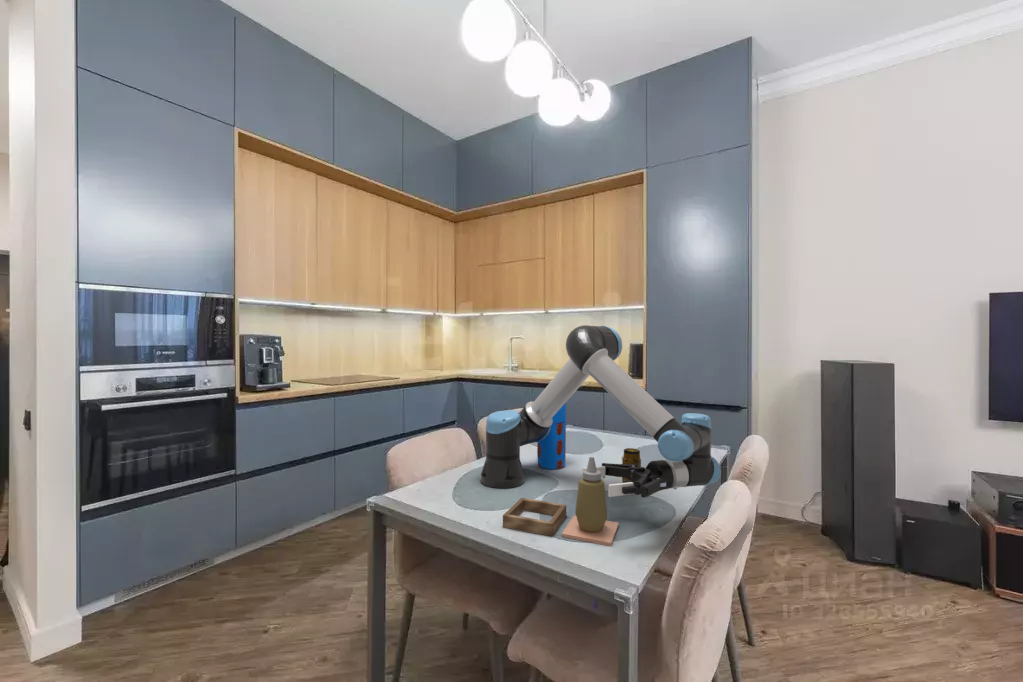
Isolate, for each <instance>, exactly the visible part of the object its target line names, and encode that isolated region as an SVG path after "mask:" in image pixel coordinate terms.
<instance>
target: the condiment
mask: <svg viewBox="0 0 1023 682" xmlns="http://www.w3.org/2000/svg"><path fill="white" fill-rule="evenodd" d="M640 453H641V450H640V449H637V448H634V447H633V448H632V447H626V448H624V449H623V456H622V458H621V460H622V461H621V464H637V465H638V467H642V459H641V454H640ZM631 477H632V474H631ZM621 481H622V482H621V483H628V482H633V483H634V486H635V481H631V480H628V478H623V477H621Z"/></svg>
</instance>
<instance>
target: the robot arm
mask: <svg viewBox="0 0 1023 682" xmlns="http://www.w3.org/2000/svg"><path fill="white" fill-rule="evenodd" d="M565 349H566V354H567V355H568V357H569V359H568V360H567V361H566V362H565V364H564V365H563V366H562V367H561V369H560V370H559V371H558V372H557V373H556V374H555V376H554V377H553V378H552V380H551V381H550V382H549V383H548V385H547V386H546V387H545V388H544V389H543V390H542V392H540V394H539V395H537V397H536V399H534V401H528V402H526V404H525V405H524V407H523V408H522V409H521V410H520V411H518V410H514V409H513V410H511V409H510V410H509V409H507V410H497V411H495V412H492V413H490V414H489V415H488V416H487V417H486V421H485V422H486V424H485V460H484V464H483V466H482V470H481V473H480V483H481V482H482V483H483V484H482V483H481V484H482V485H484V486H486V487H489V488H495V489H496V488H497V489H511V488H517V487H520V486H522V485H523V484H524V483H525V479H526V475H525V471H524V468H523V464H522V461H521V457H520V456H521V447H523V446H526V445H530V444H534V443H537V442H539V441H541V440H542V439H544V438H545V437H546V436H547V435H548V434H549V432H550V429H551V427H550V426H551V425H552V423H553V419H552V417H553V416H554V415H555V414H556V413H557V412H558V411H559V409H560V408H561V407H562V406H563V405H564V404H565V403H566V404H567V402H568V400H570V398H571V397H572V396H573V395H574V394H575V393H576V391H577V390H578V389H579V388H580V387H581V386H582V384H583V383H584V382H585V381H587V380H588V378H589V377H592V378H593V380H595V381H596V382H597V383H598V384H599V385H600V387H602V388H603V389H604V390H605V391H606V392H607V394H609V395H610V396H611V397H612V398H613V399H614V400H615V402H617V404H618V405H620V406H621V407H622V408H623V409H624V410H625V411H626V412H627V413H628V414H629V415H630V416H631V417H632V418H633V419H634V420H635V421H636V422H637V423H638V424H639V426H641V427H642V428H643V429H644V430H645V431H646V432H647V433H648V434H649V435H650V436H651V437H652V438H653V439H654V440H655V441H656V443H657V448H658V451H659V453H660V455H661V456H662V457H663V458H664V459H659V460H658V459H657V460H652V461H649V463H648V462H647V465H646V467H644V466H641V467H638V465H637V464H622V463H605V462H602V463H601V465H600V466H596V470H598V471H600V472H601V478H603V479H605V478H606V476H608V477H617V478H622V477H623V478H628V480H631V481H635V486H634V483H633V482H628V483H622V482H621V483H610V484H608V486H607V496H608V497H609V498H612V497H620V496H627V495H629V496H630V495H636V496H640V495H641V498H644V499H645V498H647V497H650V496H651V495H653V494H655V493H658V492H659V491H663V490H669V489H672V490H677V489H680V488H687V487H697V486H699V487H701V486H702V487H703V486H707V485H711V484H716V483H717V482H718V481H719V479H720V478H721V474H722V469H721V468H720V464H719V462H718V460H717V459H716V458H715V457H713V456H712V430H713V428H712V420H711V419H712V418H710V416H709V415H706V414H703V413H695V412H694V413H693V412H691V413H690V412H689V413H683V414H682V416H681V422H679V421H678V420H677V419H676V418H674V416H673V415H672V414H671V413H670V412H669V411H667V409H666V408H664V407H663V406H662V404H661V403H659V402H658V401H657V400H656V399H655V398H654V397H652V395H651V394H650V393H648V391H646V390H645V389H644V388H643V387H642V386H641V385H640V384H639V383H638V382H636V380H635V379H633V377H631V376H630V375H629V374H628V373H627V372H626V371H625V370H624V368H622V367H621V366H620V365H618V364H617V362H616V361H615V360H617V359H618V358H619V357H620V355H621V353H622V350H623V339H622V337H621V336H620V334H619V332H618V331H616V329H613V328H612V327H609V326H606V325H586V324H585V325H580V326H577V327H575V328H574V329H572V330H571V331H570V332H569V333H568V335H567V337H566V341H565ZM586 469H587V467H583V468H582V470H581V471H582V472H583V470H586ZM631 474H632V477H631Z"/></svg>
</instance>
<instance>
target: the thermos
mask: <svg viewBox="0 0 1023 682" xmlns="http://www.w3.org/2000/svg"><path fill="white" fill-rule="evenodd" d="M552 419H553V423H552V425H551V426H550V427H551V429H550V432H549V434H548V435H547V436H546V437H545V438H544V439H542V440H541V441H539V442H536V443H537V448H536V449H537V450H536V451H537V452H536V453H537V458H536V459H537V466H538V467H540V468H542V469H548V470H557V469H558V470H560V469H563V468H565V465H566V457H567V455H566V449H567V448H566V447H567V446H566V443H567V442H566V439H567V437H566V435H567V434H566V429H567V428H566V427H567V426H566V425H567V423H566V422H567V402H566V403H565V404H564V405H563V406H562V407H561V408H560V409H559V411H558V412H557V413H556V414H555V415H554V416H553V417H552Z"/></svg>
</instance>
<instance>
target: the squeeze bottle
mask: <svg viewBox="0 0 1023 682" xmlns="http://www.w3.org/2000/svg"><path fill="white" fill-rule="evenodd" d="M586 466H587V467H586V468H587V469H586V470H583V469H582V470H583V472H582V478H580V479H579V480H578V484H577V485H578V487H577V496H576V505H575V513H574V514H575V515H576V517H577V520H578V523H579V527H580V528H581V529H582V530H584V531H587V532H599V531H601V530H602V529H603V527H604V524H605V521H607V517H608V510H607V509H608V508H607V499H606V497H607V496H606V487H605V486H606V485H605V482H604V481H603V480H602V479H601V478H602V477H601V472H600V471H598V470H596V467H597V466H596V461H595V457H593V456H590V457H589V458H588V461H587V465H586Z"/></svg>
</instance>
